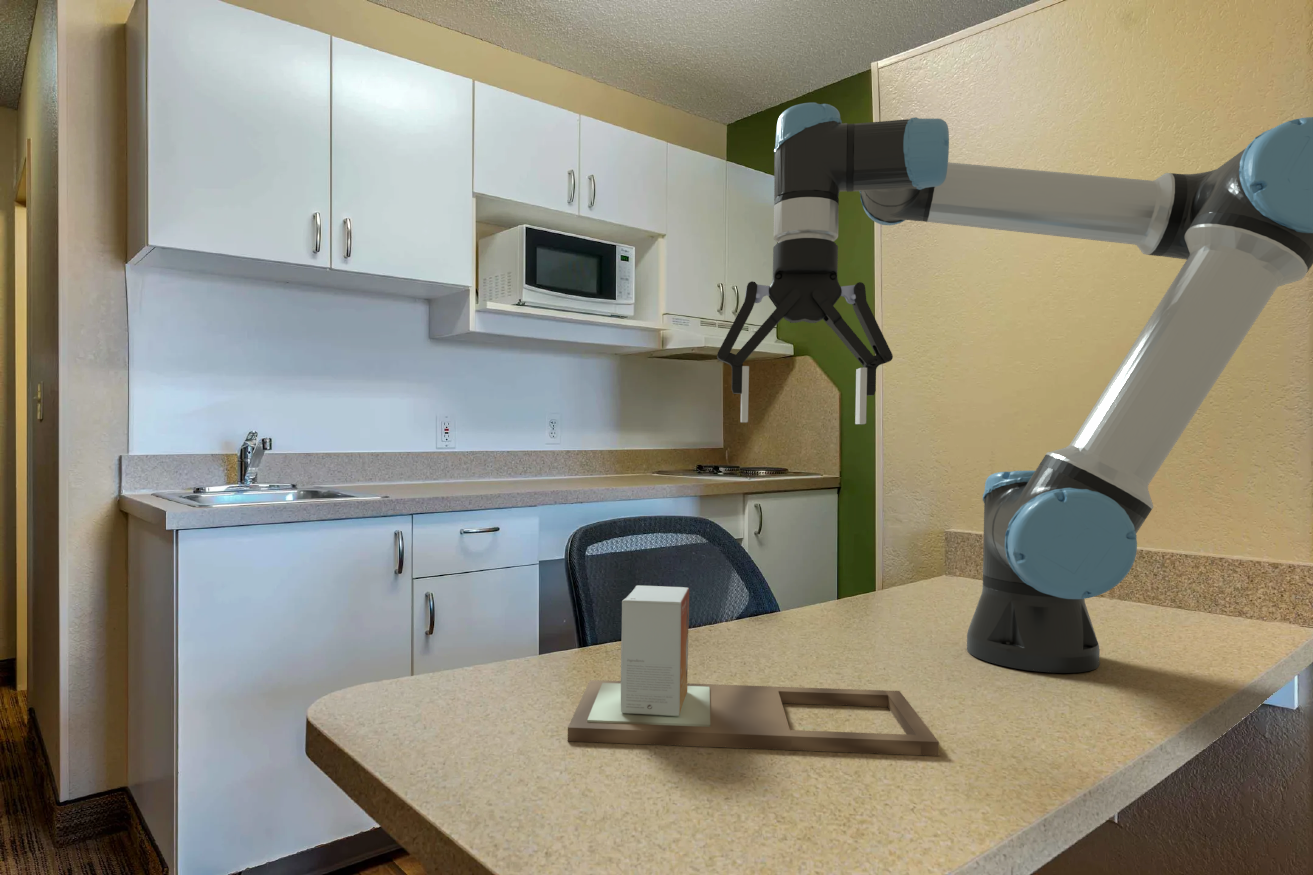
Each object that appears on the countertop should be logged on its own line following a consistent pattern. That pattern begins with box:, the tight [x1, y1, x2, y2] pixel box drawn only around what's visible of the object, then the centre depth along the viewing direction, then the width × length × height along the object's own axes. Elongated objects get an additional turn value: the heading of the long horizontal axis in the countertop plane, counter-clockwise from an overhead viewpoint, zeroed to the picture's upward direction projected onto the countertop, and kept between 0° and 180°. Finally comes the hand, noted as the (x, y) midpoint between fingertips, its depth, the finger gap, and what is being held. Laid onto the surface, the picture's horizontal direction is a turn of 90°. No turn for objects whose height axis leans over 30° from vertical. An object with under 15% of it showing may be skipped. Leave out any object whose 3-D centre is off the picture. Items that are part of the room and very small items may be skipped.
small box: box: [620, 585, 690, 716], centre depth 78 cm, size 8×6×10 cm
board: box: [567, 679, 940, 757], centre depth 78 cm, size 32×14×1 cm, turn 87°
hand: (802, 423), depth 96 cm, fingers open, 13 cm apart
